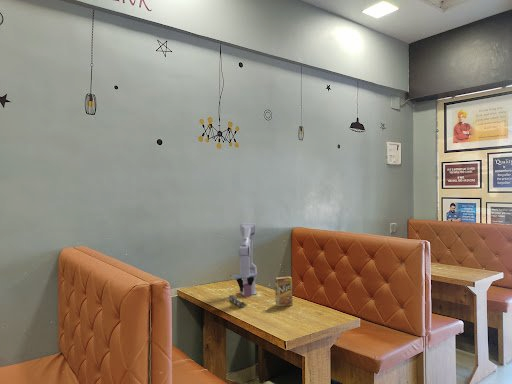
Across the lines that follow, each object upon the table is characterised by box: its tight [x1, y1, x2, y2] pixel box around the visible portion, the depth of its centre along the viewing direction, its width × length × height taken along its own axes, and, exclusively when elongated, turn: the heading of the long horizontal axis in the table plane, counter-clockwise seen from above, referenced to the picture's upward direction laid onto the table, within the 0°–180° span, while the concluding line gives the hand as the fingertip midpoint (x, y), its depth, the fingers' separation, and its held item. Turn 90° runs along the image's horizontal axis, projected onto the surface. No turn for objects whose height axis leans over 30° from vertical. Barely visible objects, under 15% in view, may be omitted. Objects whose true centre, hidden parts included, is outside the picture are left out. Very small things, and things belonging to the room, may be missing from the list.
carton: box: [239, 283, 252, 298], centre depth 206 cm, size 4×8×6 cm, turn 24°
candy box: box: [274, 275, 294, 307], centre depth 200 cm, size 9×4×15 cm, turn 107°
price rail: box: [229, 295, 244, 309], centre depth 205 cm, size 18×2×2 cm, turn 24°
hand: (245, 290), depth 206 cm, fingers closed on carton, 4 cm apart
